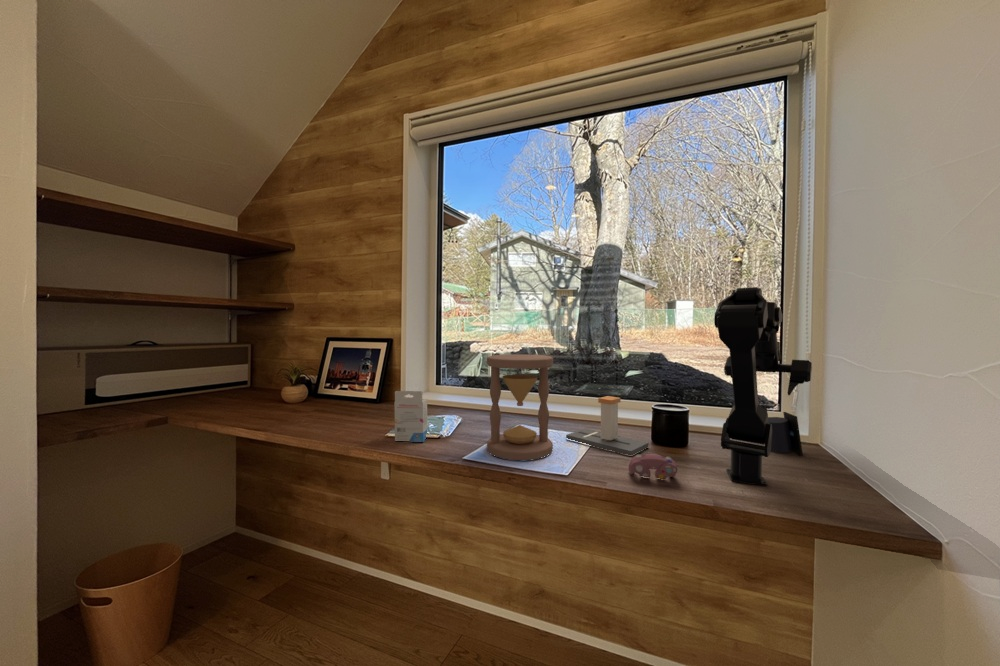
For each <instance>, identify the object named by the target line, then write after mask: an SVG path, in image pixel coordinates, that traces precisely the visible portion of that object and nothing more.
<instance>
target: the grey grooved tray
mask: <svg viewBox="0 0 1000 666" xmlns="http://www.w3.org/2000/svg"><path fill="white" fill-rule="evenodd" d="M565 436H566V437H565V439H566V438H568V439H571V440H575V441H578V442H582V443H586V444H589V445H592V446H595V447H599V448H603V449H607V450H612V451H615V452H619V453H623V454H628V455H633V454H635V453H637V452H639V451H641V450H643V449H645V448H647V447H649V446H650V445H649V443H650V442H647V441H643V440H638V439H636V438H635V439H634V438H629V437H625V436H620V435H618V438H616V439H613V440H611V441H610V440H606V439H601V431H599V430H595V429H590V428H586V427H585V428H582V429H579V430H576V431H573V432H571V433H568V434H565ZM595 447H594V448H595ZM599 448H598V449H599Z"/></svg>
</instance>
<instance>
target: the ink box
mask: <svg viewBox="0 0 1000 666" xmlns="http://www.w3.org/2000/svg"><path fill="white" fill-rule="evenodd" d="M408 395H409V396H410V397H409V396H408ZM405 396H406V397H405ZM407 396H408V397H407ZM411 396H413V397H411ZM393 404H394V405H393V406H394V442H395V441H413V442H423V443H424V442H425V441H426V440H427V439H426V434H427V432H428V398H423V392H422V391H421V390H417V391H416V390H395V391H394V403H393ZM425 439H426V440H425Z"/></svg>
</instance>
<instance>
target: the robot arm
mask: <svg viewBox="0 0 1000 666" xmlns="http://www.w3.org/2000/svg"><path fill="white" fill-rule="evenodd" d="M782 312H783V311H782V309H781V307H780V306H779V307H778V304H777V302H774V301H767V300H766V298H765V297H764V296H763V290H762V288H761V287H758V286H755V287H754V286H750V287H737V288H736V289H733V290H732V292H731V294H730V295H729V296H727V297H725V298H724V299H722V300H721V301H719V302H718V305H717V307H716V310H715V312H714V320H713V321H714V326H715V328H716V329H717V332H718V338H719V340H720V341H721V342H722V343H723V344H724V345H725V347H726V348H728V350H729V356H728V357H727V358H726V361H725V364H724V367H723V368H724V369H723V371H724V375H725V376H726V377H727V376H728V377H730V378H731V380H732V381H731V383H732V392H733V393H732V396H733V403H734V404H733V406H732V407H731V409H730V412H729V414H728V416H727V417H726V418H725V419H726V420H725V422H724V423H723V424H722V430H721V436H720V447H721V449H723V450H729V451H730V468H726V469H725V470H726V474H727V475H728V478H729V479H730V481H731V482H734V483H741V484H749V485H755V486H756V485H758V486H766V487H767V486H768V482H767V481H766V479H765V478H764V477H763V476H762V475H763V473H762V472H763V471H762V470H763V457H764V458H769V456H770V454H771V453H772V452H771V442H772V424H769V421H768V417H769V415H768V414H769V413H768V408H767V407H766V406H765V405H763V404H761V405H760V403H759V394H758V391H759V390H758V377H757V372H758V373H759V372H760V373H788V374H789V373H790V374H789V381H788V387H787V396H791V394H792V393H793V391H794V389H795V388H796V387H797V386H798V385H799V384H800V385H801V384H804V383H809V382H811V380H812V371H813V369H812V368H813V363H812V362H811V361H810V360H807V359H792V360H791V364H790V363H779V362H781V359H782V358H781V342H780V341H778V335H777V334H778V332H779V329H780V325H781V323H782V322H783V318H784V317H783V316H784V315H783V313H782Z"/></svg>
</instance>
